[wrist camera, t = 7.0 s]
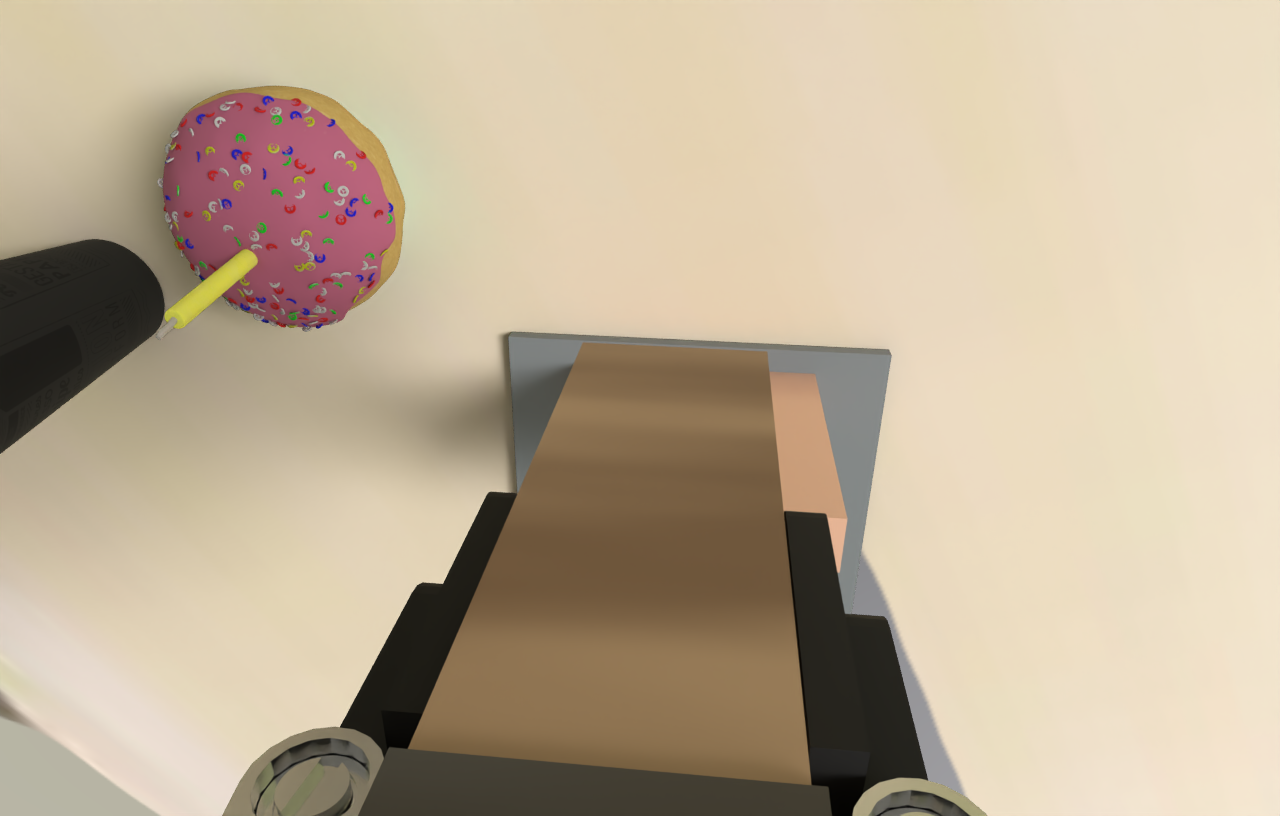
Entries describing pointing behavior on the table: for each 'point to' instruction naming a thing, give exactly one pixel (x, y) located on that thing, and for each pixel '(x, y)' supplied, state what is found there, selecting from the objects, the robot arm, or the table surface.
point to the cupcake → (280, 207)
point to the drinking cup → (68, 325)
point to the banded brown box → (628, 615)
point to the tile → (807, 453)
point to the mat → (841, 373)
